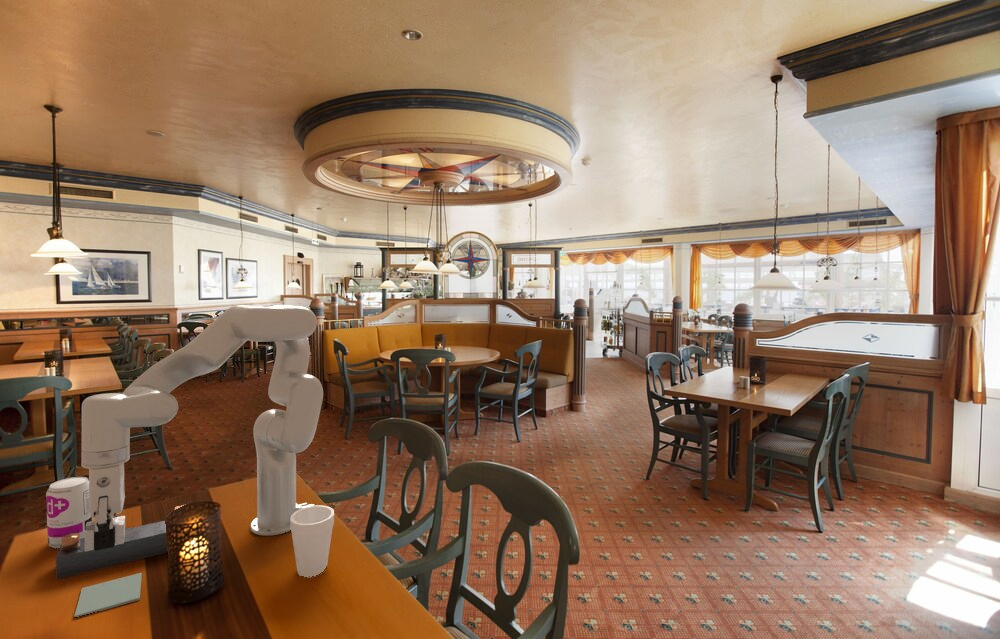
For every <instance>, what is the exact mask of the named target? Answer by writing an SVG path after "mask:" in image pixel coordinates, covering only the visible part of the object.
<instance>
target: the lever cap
mask: <svg viewBox="0 0 1000 639" xmlns="http://www.w3.org/2000/svg"><path fill="white" fill-rule="evenodd" d="M113 517H114V516H113ZM107 519H109V521H110V518H107ZM113 527H115V545H118V544H123V543H124V538H125V529H126V515H121V516H117V517H114V518H113ZM94 530H95V520H92V521H90V522H87V524H86V529H85V551H90V550H94Z"/></svg>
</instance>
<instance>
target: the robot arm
mask: <svg viewBox="0 0 1000 639" xmlns="http://www.w3.org/2000/svg"><path fill="white" fill-rule="evenodd" d="M317 322H318V320H317V316H316V315H315V313H314V312H313V311H312V310H311V309H310V308H307V307H305V306H299V305H291V304H289V305H287V304H274V305H271V306H255V305H245V304H237V305H232V306H231V307H229V308H227V309H226V310H224V311H223V312H222V313H221V314H220V315H219V316H218V317H217V318H215V319H214V320H213V321H212V322H211V323H210V324H209V325H208V326H206V327H205V328H204V329H203V330H202V331H201V332H200V333H198V335H197V336H195V337H194V339H192V340H191V341H190V342H188V343H187V344H186V345H185V346H183V347H181V348H179V349H177V350H176V351H174V352H173V353H171V354H170V355H167V356H166V357H164V358H163V359H161V360H159V361H158V362H156V363H155V364H153V365H152V366H150V367H149V368H148V369H147V370H145V371H143V373H142V374H141V375H139V376H138V377H137V378H136V379H135V380H134V381H132V383H130V384H129V385H128V386H127V387H126V388H125V390H123V392H122V393H117V392H113V393H99V394H93V395H90V396H88V397H86V398H85V399H84V400H83V401H82V403H81V468H84V469H88V480H89V505H90V516H91V517H92V519H94V521H95V530H94V550H95V551H97V550H102V549H107V548H111V547H114V545H115V527H113V518H114V517H118V515H117V514H120V513H122V511H123V509H124V505H125V498H126V494H125V463H127V462H129V460H130V459H131V454H130V453H131V451H130V450H131V447H130V446H131V445H130V444H131V443H130V440H131V438H130V437H131V428H142V427H143V428H148V427H157V426H161V425H164V424H167V423H168V422H170V421H171V420H172V419H174V417H175V416H176V415H177V413H178V412H179V411H178V410H179V404H178V403H179V402H178V400H177V399H176V397H175V396H174V395H172V393H171V392H172V391H173V390H175V389H176V388H177V387H178V386H180V385H182V384H184V383H186V382H187V381H188V380H192V379H193V378H196V377H199V376H203V375H206V374H209V373H211V372H214V371H216V370H218V369H220V368H221V366H223V365H224V364H225V363H226V362H227V361H228V360H229V359H230V358H231V357H232V356H233V355H234V354H235V353H236V352H237V351H238V350H239V349H240V348H241V347H242V346H243V345H244V344H245V343H246V342H248V341H249V342H255V343H257V342H258V343H260V342H261V343H262V342H263V343H264V342H274V343H275V349H276V353H275V354H276V355H275V360H274V362H273V363H274V364H273V367H272V373H271V376H270V380H269V384H268V391H267V394H268V398H269V399H270V400H271V401H272V402H273V403H275V404H278V405H279V406H283V407H286V410H284V409H279V408H272V409H268V410H266V411H263V412H261V413H260V415H259V416H258V417H257V418H256V419H255V423H254V424H253V433H252V434H253V441H254V444H255V452H256V473H257V474H256V479H257V480H256V483H257V484H256V489H257V490H256V491H257V492H256V494H257V496H256V500H257V501H256V504H257V505H256V506H257V507H256V509H257V511H256V512H257V514H256V515H257V516H256V517H255V518H254V519H253V520H252V521H251V523H250V531H251V532H252V533H253V534H255V535H259V536H267V537H269V536H278V535H282V534H284V533H285V532H286V533H288V532H291V531H290V518H291V515H292V514H293V513H294V512H295V511H297V510H300V509H302V508H305V507H309V506H315V504H313V503H311V504H308V502H303V503H299V504H298V503H297V456H296V454H298V453H302V452H304V451H305V450H306V449H308V448H309V446H310V445H311V443H312V442H313V440H314V437H315V434H316V431H317V426H318V424H319V418H320V415H321V409H322V405H323V399H324V389H323V384H322V383H321V381H320V379H319V378H317V377H316V376H314V375H312V374H308V370H309V369H308V368H309V362H310V358H311V356H310V355H311V347H310V342H309V340H308V337H310V336H311V335H313V334H314V333H315V331H316V329H317V326H318V323H317ZM107 518H110V521H109V519H107ZM286 533H285V534H286Z"/></svg>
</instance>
